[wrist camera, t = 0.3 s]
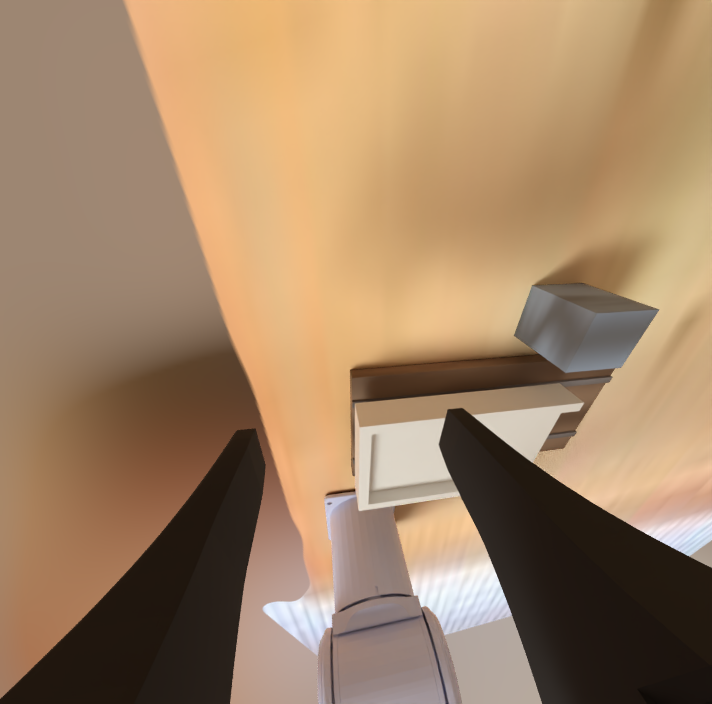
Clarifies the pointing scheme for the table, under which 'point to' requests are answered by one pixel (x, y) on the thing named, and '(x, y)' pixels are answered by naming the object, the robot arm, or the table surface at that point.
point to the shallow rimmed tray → (423, 431)
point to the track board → (478, 386)
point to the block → (582, 326)
